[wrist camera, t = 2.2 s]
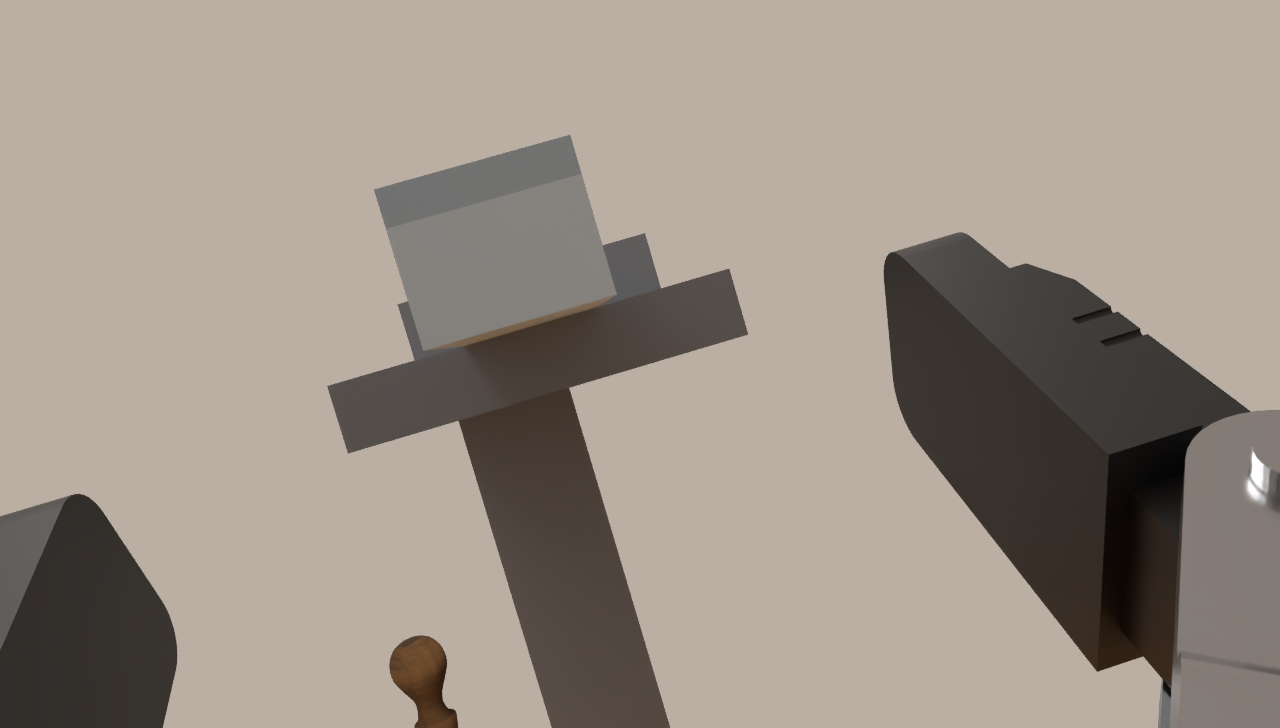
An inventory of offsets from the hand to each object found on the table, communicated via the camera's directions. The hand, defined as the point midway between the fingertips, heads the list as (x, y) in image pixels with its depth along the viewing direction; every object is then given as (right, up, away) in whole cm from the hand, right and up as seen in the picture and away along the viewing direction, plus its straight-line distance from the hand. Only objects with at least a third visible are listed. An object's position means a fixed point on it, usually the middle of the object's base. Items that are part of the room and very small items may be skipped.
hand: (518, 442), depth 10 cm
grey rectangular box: (-2, +2, +22) cm, 22 cm away
